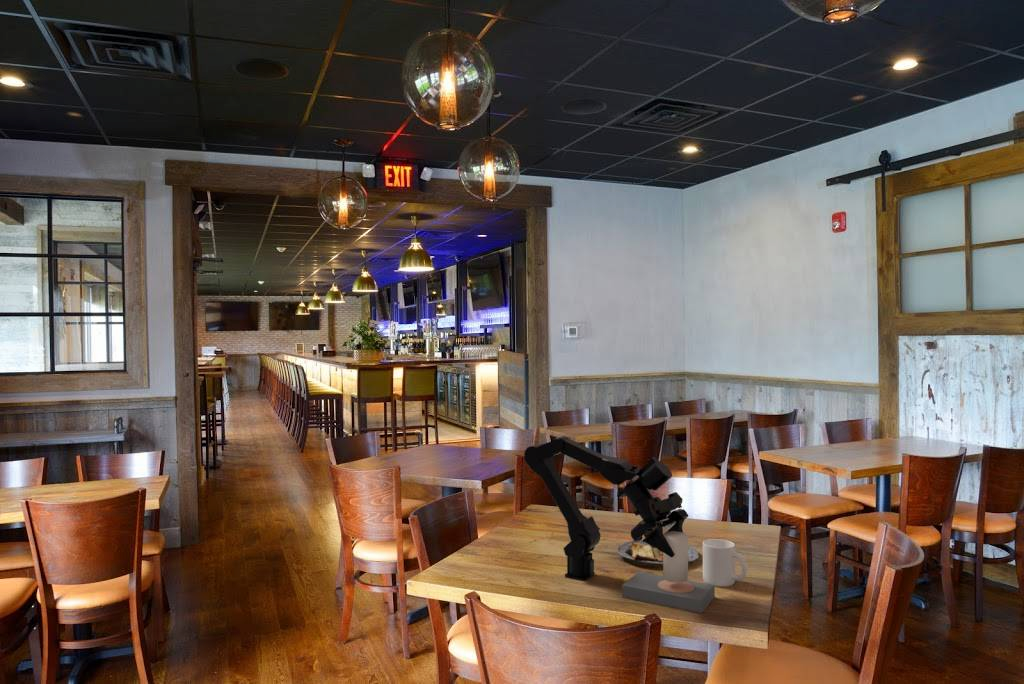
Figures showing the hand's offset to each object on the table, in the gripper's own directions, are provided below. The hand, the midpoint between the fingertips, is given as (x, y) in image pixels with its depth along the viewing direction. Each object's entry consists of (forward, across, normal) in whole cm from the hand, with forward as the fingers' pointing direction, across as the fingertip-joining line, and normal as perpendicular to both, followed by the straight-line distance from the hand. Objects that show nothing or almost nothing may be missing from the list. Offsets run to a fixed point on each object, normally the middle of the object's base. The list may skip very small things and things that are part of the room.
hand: (680, 553), depth 168 cm
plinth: (+6, 0, +10) cm, 12 cm away
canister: (+4, 0, +6) cm, 7 cm away
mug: (+10, +18, +7) cm, 22 cm away
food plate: (-8, +25, +25) cm, 37 cm away
